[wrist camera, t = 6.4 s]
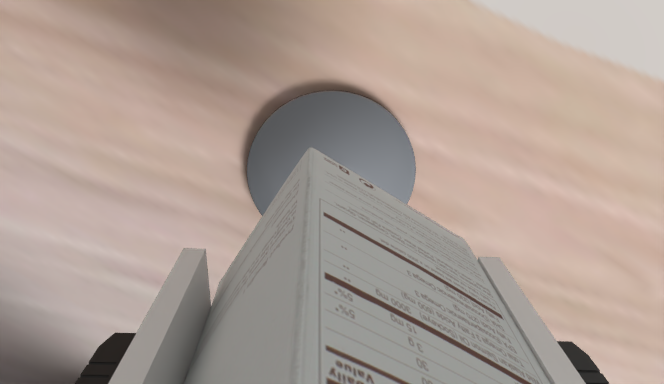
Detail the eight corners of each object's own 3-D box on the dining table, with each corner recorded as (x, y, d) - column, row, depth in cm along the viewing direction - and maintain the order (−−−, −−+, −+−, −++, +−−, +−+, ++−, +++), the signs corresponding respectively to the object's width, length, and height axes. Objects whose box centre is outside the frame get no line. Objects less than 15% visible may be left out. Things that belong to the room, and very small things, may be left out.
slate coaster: (251, 242, 27) (249, 246, 27) (245, 86, 23) (243, 88, 22) (403, 246, 27) (404, 250, 27) (424, 94, 23) (426, 95, 23)
